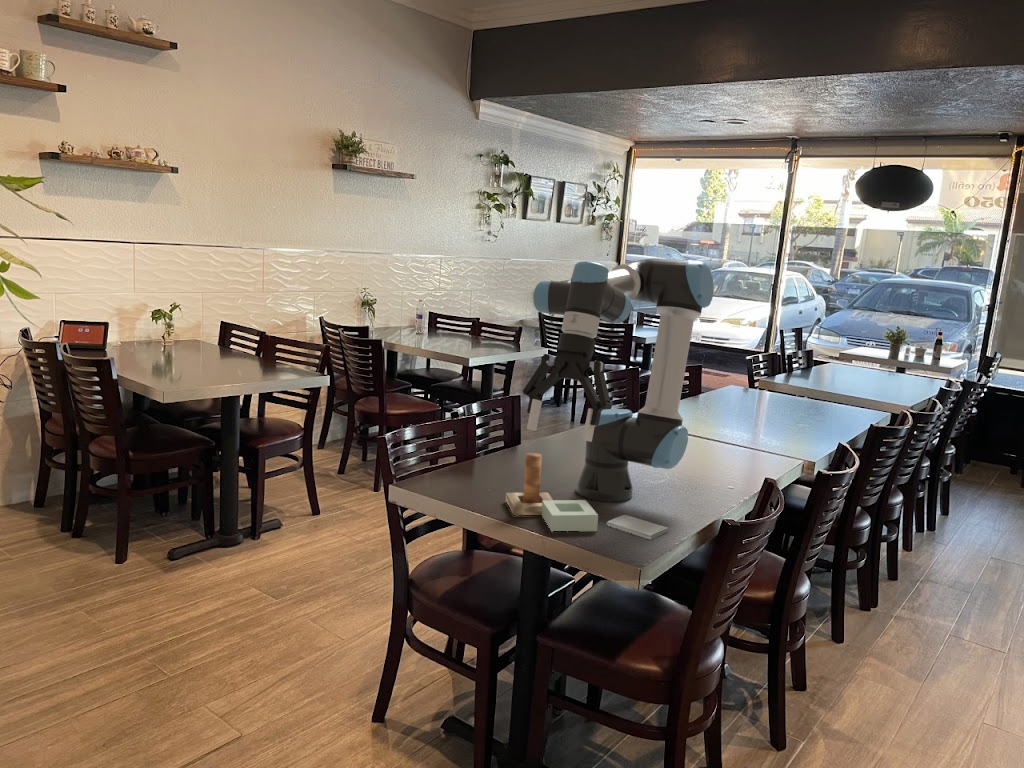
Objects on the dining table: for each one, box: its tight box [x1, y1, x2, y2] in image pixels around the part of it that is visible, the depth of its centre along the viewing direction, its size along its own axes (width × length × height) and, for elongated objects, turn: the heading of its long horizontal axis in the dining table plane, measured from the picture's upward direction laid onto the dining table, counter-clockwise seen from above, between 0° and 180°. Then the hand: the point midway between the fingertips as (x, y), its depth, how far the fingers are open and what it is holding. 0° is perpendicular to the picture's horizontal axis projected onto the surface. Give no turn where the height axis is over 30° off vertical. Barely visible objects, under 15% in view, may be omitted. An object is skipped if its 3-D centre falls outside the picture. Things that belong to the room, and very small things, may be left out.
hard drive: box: [606, 514, 670, 540], centre depth 188 cm, size 2×8×12 cm
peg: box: [523, 452, 543, 503], centre depth 197 cm, size 4×4×14 cm
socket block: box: [541, 499, 599, 533], centre depth 188 cm, size 11×11×4 cm
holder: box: [505, 491, 554, 516], centre depth 198 cm, size 11×11×2 cm
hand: (558, 435), depth 163 cm, fingers open, 13 cm apart
